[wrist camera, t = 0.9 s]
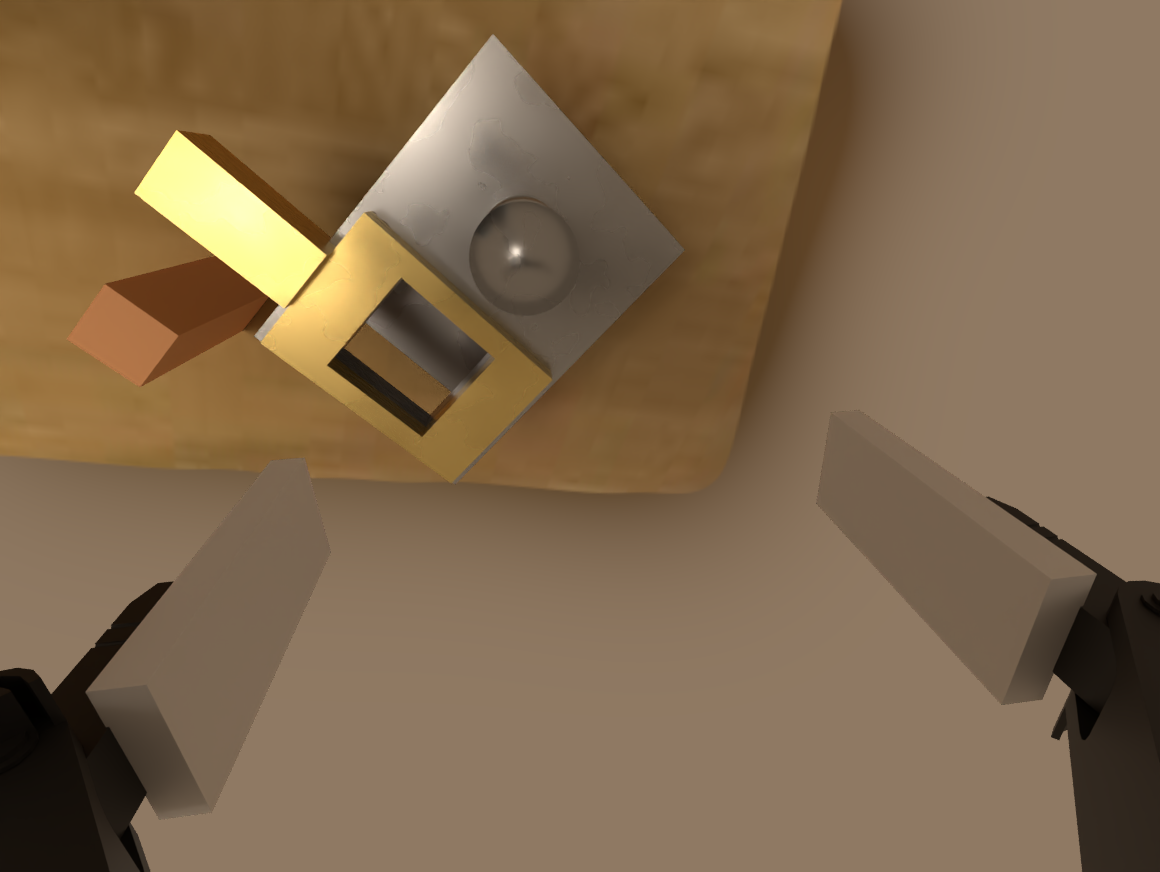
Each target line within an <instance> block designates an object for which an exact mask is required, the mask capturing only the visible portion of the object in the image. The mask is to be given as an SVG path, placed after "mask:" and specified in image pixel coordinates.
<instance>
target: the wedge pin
mask: <svg viewBox="0 0 1160 872" xmlns="http://www.w3.org/2000/svg"><path fill="white" fill-rule="evenodd" d="M268 298H269V296H267V295H266V294H265V293H263V292H262V291H261V290H259V289H258V288H257V287H256V286H254V285H253V284H252V283H250V282H249V281H248V280H246V279H245V278H244V277H243V276H241V275H240V274H239V273H237V272H236V271H235V270H234V269H232V268H231V267H230V266H228V265H227V264H226V263H224V262H223V261H222V260H221V259H219V258H218V257H217V256H213V257H209V258H206V259H202V260H198V261H194V262H190V263H186V264H182V265H178V266H174V267H170V268H166V269H162V270H158V271H154V272H150V273H146V274H142V275H138V276H134V277H130V278H126V279H122V280H118V281H114V282H110V283H106V284H104V286H103V287H102V289H101V290H100V292H99V293H98V295H97V296H96V297H95V299H94V300H93V302H92V303H91V305H90V306H89V308H88V309H87V310H86V312H85V313H84V315H83V316H82V318H81V319H80V321H79V322H78V324H77V325H76V326H75V328H74V329H73V331H72V332H71V334H70V335H69V337H68V338H67V340H69V341H70V342H72V343H73V344H75V345H76V346H78V347H79V348H81V349H82V350H84V351H85V352H87V353H88V354H90V355H92V356H93V357H95V358H96V359H98V360H99V361H101V362H102V363H104V364H105V365H107V366H108V367H110V368H111V369H113V370H115V371H116V372H118V373H119V374H121V375H122V376H124V377H125V378H127V379H128V380H130V381H131V382H133V383H134V384H136V385H138V386H139V387H141V386H143V385H145V384H147V383H148V382H150V381H152V380H154V379H156V378H157V377H159V376H161V375H163V374H165V373H166V372H168V371H170V370H172V369H174V368H176V367H177V366H179V365H181V364H183V363H185V362H186V361H188V360H190V359H192V358H194V357H196V356H197V355H199V354H201V353H203V352H205V351H206V350H208V349H210V348H212V347H214V346H215V345H217V344H219V343H221V342H223V341H225V340H226V339H228V338H230V337H232V336H234V335H235V334H237V333H239V332H241V331H243V330H244V328H245V327H246V326H247V324H248V323H249V322H250V321H251V319H252V318H253V317H254V316H255V314H256V313H257V312H258V310H259V309H260V308H261V307H262V305H263V304H264V303H265V301H266V300H267V299H268Z"/></svg>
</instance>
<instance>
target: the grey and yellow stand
mask: <svg viewBox="0 0 1160 872" xmlns="http://www.w3.org/2000/svg"><path fill="white" fill-rule="evenodd" d="M135 194H136V195H138V196H139V197H140V198H142V199H143V200H144V201H145V202H147V203H148V204H149V205H151V206H152V207H153V208H154V209H156V210H157V211H158V212H160V213H161V214H162V215H164V216H165V217H166V218H167V219H169V220H170V221H171V222H173V223H174V224H175V225H177V226H178V227H179V228H180V229H182V230H183V231H184V232H186V233H187V234H188V235H189V236H191V237H192V238H193V239H195V240H196V241H197V242H199V243H200V244H201V245H202V246H204V247H205V248H206V249H208V250H209V251H210V252H212V253H213V254H214V255H215V256H217V257H218V258H219V259H221V260H222V261H223V262H224V263H226V264H227V265H228V266H230V267H231V268H232V269H234V270H235V271H236V272H237V273H239V274H240V275H241V276H243V277H244V278H245V279H246V280H248V281H249V282H250V283H252V284H253V285H254V286H256V287H257V288H258V289H259V290H261V291H262V292H263V293H265V294H266V295H267V296H269V297H270V298H271V299H272V300H274V301H275V302H276V303H278V304H279V305H278V307H277V308H276V309H275V310H274V312H273V313H272V314H271V315H270V317H269V318H268V319H267V320H266V322H265V323H264V324H263V325H262V327H261V328H260V329H259V331H258V332H257V333H256V334H255V336H254V337H256V338H257V339H258V340H260V341H261V342H260V343H261V344H262V345H264V346H265V347H266V348H268V349H269V350H270V351H272V352H273V353H274V354H276V355H277V356H278V357H280V358H281V359H283V360H284V361H285V362H287V363H288V364H289V365H291V366H292V367H293V368H295V369H296V370H297V371H299V372H300V373H302V374H303V375H304V376H306V377H307V378H308V379H310V380H311V381H312V382H314V383H315V384H317V385H318V386H319V387H321V388H322V389H323V390H325V391H326V392H327V393H329V394H330V395H331V396H333V397H334V398H336V399H337V400H338V401H340V402H341V403H342V404H344V405H345V406H346V407H348V408H349V409H351V410H352V411H353V412H355V413H356V414H357V415H359V416H360V417H361V418H363V419H364V420H365V421H367V422H368V423H370V424H371V425H372V426H374V427H375V428H376V429H378V430H379V431H380V432H382V433H383V434H385V435H386V436H387V437H389V438H390V439H391V440H393V441H394V442H395V443H397V444H398V445H399V446H401V447H402V448H404V449H405V450H406V451H408V452H409V453H410V454H412V455H413V456H414V457H416V458H417V459H418V460H420V461H421V462H423V463H424V464H425V465H427V466H428V467H429V468H431V469H432V470H433V471H435V472H436V473H438V474H439V475H440V476H442V477H443V478H444V479H446V480H447V481H448V482H450V483H454V484H456V483H457V482H458V481H459V480H460V479H461V478H462V477H463V476H464V475H465V474H466V473H467V472H468V471H469V470H470V469H471V468H472V467H473V466H474V465H475V464H476V463H477V462H478V461H479V460H480V459H481V458H482V457H483V456H484V455H485V454H486V453H487V451H488V450H489V449H490V448H491V447H492V446H493V445H494V444H495V443H496V442H497V441H498V440H499V439H500V438H501V437H502V436H503V435H504V434H505V433H506V432H507V431H508V430H509V429H510V428H511V427H512V426H513V425H514V424H515V423H516V422H517V421H518V420H519V419H520V418H521V417H522V416H523V415H524V414H525V413H526V412H527V411H528V410H529V409H530V408H531V407H532V406H533V405H534V404H535V402H536V401H537V400H538V399H539V398H540V397H541V396H542V395H543V394H544V393H545V392H546V391H547V390H548V389H549V388H550V387H551V386H552V385H553V384H554V383H555V382H556V381H557V380H558V379H559V378H560V377H561V376H562V375H563V374H564V373H565V372H566V371H567V370H568V369H569V368H570V367H571V366H572V365H573V364H574V363H575V362H576V361H577V360H578V359H579V358H580V357H581V356H582V355H583V354H584V352H585V351H586V350H587V349H588V348H589V347H590V346H591V345H592V344H593V343H594V342H595V341H596V340H597V339H598V338H599V337H600V336H601V335H602V334H603V333H604V332H605V331H606V330H607V329H608V328H609V327H610V326H611V325H612V324H613V323H614V322H615V321H616V320H617V319H618V318H619V317H620V316H621V315H622V314H623V313H624V312H625V311H626V310H627V309H628V308H629V307H630V306H631V305H632V304H633V302H634V301H635V300H636V299H637V298H638V297H639V296H640V295H641V294H642V293H643V292H644V291H645V290H646V289H647V288H648V287H649V286H650V285H651V284H652V283H653V282H654V281H655V280H656V279H657V278H658V277H659V276H660V275H661V274H662V273H663V272H664V271H665V270H666V269H667V268H668V267H669V266H670V265H671V264H672V263H673V262H674V261H675V260H676V259H677V258H678V257H679V256H680V255H681V253H682V252H683V251H684V248H683V247H682V246H681V245H680V244H679V243H678V242H677V241H676V239H675V238H674V237H673V236H672V235H671V234H670V233H669V232H668V230H667V229H666V228H665V227H664V226H663V225H662V224H661V222H660V221H659V220H658V219H657V218H656V217H655V216H654V215H653V213H652V212H651V211H650V210H649V209H648V208H647V207H646V206H645V204H644V203H643V202H642V201H641V200H640V199H639V198H638V197H637V195H636V194H635V193H634V192H633V191H632V190H631V189H630V188H629V186H628V185H627V184H626V183H625V182H624V181H623V180H622V179H621V177H620V176H619V175H618V174H617V173H616V172H615V171H614V170H613V168H612V167H611V166H610V165H609V164H608V163H607V162H606V161H605V159H604V158H603V157H602V156H601V155H600V154H599V153H598V152H597V150H596V149H595V148H594V147H593V146H592V145H591V144H590V143H589V141H588V140H587V139H586V138H585V137H584V136H583V135H582V134H581V132H580V131H579V130H578V129H577V128H576V127H575V126H574V125H573V123H572V122H571V121H570V120H569V119H568V118H567V117H566V116H565V114H564V113H563V112H562V111H561V110H560V109H559V108H558V107H557V105H556V104H555V103H554V102H553V101H552V100H551V99H550V98H549V96H548V95H547V94H546V93H545V92H544V91H543V90H542V89H541V87H540V86H539V85H538V84H537V83H536V82H535V81H534V80H533V78H532V77H531V76H530V75H529V74H528V73H527V72H526V71H525V69H524V68H523V67H522V66H521V65H520V64H519V63H518V62H517V60H516V59H515V58H514V57H513V56H512V55H511V54H510V53H509V51H508V50H507V49H506V48H505V47H504V46H503V45H502V44H501V42H500V41H499V40H498V39H497V38H496V37H495V36H494V35H492V36H491V37H490V38H489V40H488V41H487V42H486V43H485V45H484V46H483V47H482V48H481V50H480V51H479V52H478V54H477V55H476V56H475V57H474V59H473V60H472V61H471V62H470V64H469V65H468V66H467V67H466V69H465V70H464V71H463V73H462V74H461V75H460V76H459V78H458V79H457V80H456V81H455V83H454V84H453V85H452V86H451V88H450V89H449V90H448V91H447V93H446V94H445V95H444V97H443V98H442V99H441V100H440V102H439V103H438V104H437V105H436V107H435V108H434V109H433V110H432V112H431V113H430V114H429V116H428V117H427V118H426V119H425V121H424V122H423V123H422V124H421V126H420V127H419V128H418V129H417V131H416V132H415V133H414V134H413V136H412V137H411V138H410V140H409V141H408V142H407V143H406V145H405V146H404V147H403V148H402V150H401V151H400V152H399V153H398V155H397V156H396V157H395V159H394V160H393V161H392V162H391V164H390V165H389V166H388V167H387V169H386V170H385V171H384V172H383V174H382V175H381V176H380V177H379V179H378V180H377V181H376V183H375V184H374V185H373V186H372V188H371V189H370V190H369V191H368V193H367V194H366V195H365V196H364V198H363V199H362V200H361V202H360V203H359V204H358V205H357V207H356V208H355V209H354V210H353V212H352V213H351V214H350V215H349V217H348V218H347V219H346V221H345V222H344V223H343V224H342V226H341V227H340V228H339V229H338V231H337V232H336V233H335V234H334V236H333V237H332V238H331V237H330V236H328V235H327V234H326V233H325V232H324V231H322V230H321V229H320V228H319V227H318V226H317V225H315V224H314V223H313V222H312V221H311V220H310V219H308V218H307V217H306V216H305V215H304V214H302V213H301V212H300V211H299V210H298V209H297V208H295V207H294V206H293V205H292V204H291V203H289V202H288V201H287V200H286V199H285V198H284V197H282V196H281V195H280V194H279V193H278V192H276V191H275V190H274V189H273V188H272V187H271V186H269V185H268V184H267V183H266V182H265V181H264V180H262V179H261V178H260V177H259V176H258V175H256V174H255V173H254V172H253V171H252V170H251V169H249V168H248V167H247V166H246V165H245V164H243V163H242V162H241V161H240V160H239V159H238V158H236V157H235V156H234V155H233V154H232V153H231V152H229V151H228V150H227V149H226V148H225V147H223V146H222V145H221V144H220V143H219V142H218V141H216V140H215V139H214V138H213V137H212V136H210V135H206V134H199V133H192V132H186V131H179V130H176V132H175V133H174V135H173V136H172V138H171V139H170V141H169V142H168V144H167V145H166V147H165V148H164V150H163V151H162V153H161V154H160V155H159V157H158V158H157V160H156V161H155V163H154V164H153V166H152V167H151V169H150V170H149V172H148V173H147V175H146V176H145V178H144V179H143V181H142V182H141V184H140V185H139V187H138V188H137V190H136V191H135ZM365 323H367V324H368V325H369V326H371V327H372V328H373V329H374V330H376V331H377V332H378V333H379V334H381V335H382V336H383V337H384V338H386V339H387V340H388V341H389V342H391V343H392V344H393V345H394V346H395V347H397V348H398V349H399V350H400V351H402V352H403V353H404V354H405V355H407V356H408V357H409V358H410V359H412V360H413V361H414V362H415V363H417V364H418V365H419V366H420V367H421V368H423V369H424V370H425V371H426V372H428V373H429V374H430V375H431V376H433V377H434V378H435V379H436V380H438V381H439V382H440V383H441V384H443V385H444V386H445V387H446V388H447V389H449V390H450V391H451V393H450V394H449V395H448V396H447V397H446V398H445V400H444V401H443V402H442V403H441V404H440V405H439V406H438V407H437V408H436V409H435V410H434V411H433V412H432V414H431V415H429V414H428V413H427V412H426V411H424V410H423V409H422V408H420V407H419V406H418V405H417V404H415V403H414V402H413V401H411V400H410V399H409V398H408V397H406V396H405V395H404V394H402V393H401V392H400V391H399V390H397V389H396V388H395V387H393V386H392V385H391V384H390V383H388V382H387V381H386V380H384V379H383V378H382V377H381V376H379V375H378V374H377V373H375V372H374V371H373V370H371V369H370V368H369V367H368V366H366V365H365V364H364V363H362V362H361V361H360V360H359V359H357V358H356V357H355V356H353V355H352V354H351V353H350V352H348V351H347V350H346V349H344V348H345V347H346V346H347V344H348V343H349V342H350V341H351V340H352V338H353V337H354V336H355V335H356V334H357V333H358V331H359V330H360V329H361V328H362V327H363V325H364V324H365Z"/></svg>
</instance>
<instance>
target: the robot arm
mask: <svg viewBox="0 0 1160 872" xmlns="http://www.w3.org/2000/svg"><path fill="white" fill-rule="evenodd" d="M816 504H817V505H818V506H819V507H820V508H821V509H822V510H823V511H824V512H825V513H826V515H827V516H828V517H829V518H830V519H831V520H832V521H833V522H834V523H835V524H836V525H837V526H838V528H839V529H840V530H841V531H842V532H843V533H844V534H845V535H846V536H847V537H848V538H849V539H850V541H851V542H852V543H853V544H854V545H855V546H856V547H857V548H858V549H859V550H860V551H861V553H862V554H863V555H864V556H865V557H866V558H867V559H868V560H869V561H870V562H871V563H872V565H873V566H874V567H875V568H876V569H877V570H878V571H879V572H880V573H881V574H882V575H883V577H884V578H885V579H886V580H887V581H888V582H889V583H890V584H891V585H892V586H893V587H894V588H895V589H896V591H897V592H898V593H899V594H900V595H901V596H902V597H903V598H904V599H905V600H906V602H907V603H908V604H909V605H910V606H911V607H912V608H913V609H914V610H915V611H916V612H917V613H918V615H919V616H920V617H921V618H922V619H923V620H924V621H925V622H926V623H927V624H928V625H929V627H930V628H931V629H932V630H933V631H934V632H935V633H936V634H937V635H938V636H939V637H940V638H941V640H942V641H943V642H944V643H945V644H946V645H947V646H948V647H949V648H950V649H951V650H952V651H953V653H954V654H955V655H956V656H957V657H958V658H959V659H960V660H961V661H962V662H963V663H964V665H965V666H966V667H967V668H968V669H969V670H970V671H971V672H972V673H973V674H974V675H975V676H976V678H977V679H978V680H979V681H980V682H981V683H982V684H983V685H984V686H985V687H986V688H987V690H989V692H990V693H991V694H992V695H993V696H994V697H995V698H996V699H997V700H998V701H999V702H1000V703H1001V705H1005V704H1013V703H1020V702H1027V701H1035V700H1042V699H1043V697H1044V694H1045V692H1046V690H1047V687H1048V685H1049V683H1050V681H1051V678H1052V676H1053V674H1055V675H1057V676H1058V677H1059V678H1060V679H1061V680H1062V681H1063V682H1064V683H1065V684H1066V685H1067V686H1068V687H1070V688H1071V691H1070V694H1069V696H1068V698H1067V700H1066V702H1065V705H1064V707H1063V709H1062V711H1061V713H1060V715H1059V717H1058V720H1057V722H1056V724H1055V726H1054V728H1053V732H1052V735H1051V737H1052V738H1055V739H1057V740H1059V739H1060V737H1061V735H1062V733H1063V731H1065V730H1068V739H1069V749H1070V758H1071V767H1072V777H1073V787H1074V796H1075V806H1076V815H1077V825H1078V835H1079V845H1080V854H1081V864H1082V872H1160V583H1154V582H1149V581H1128V582H1125V581H1124V580H1122V579H1121V578H1119V577H1118V576H1116V575H1115V574H1113V573H1112V572H1110V571H1109V570H1107V569H1106V568H1104V567H1103V566H1102V565H1100V564H1098V563H1097V562H1095V561H1094V560H1093V559H1091V558H1090V557H1088V556H1087V555H1085V554H1084V553H1082V552H1080V551H1079V550H1078V549H1076V548H1075V547H1073V546H1071V545H1070V544H1069V543H1067V542H1066V541H1064V540H1062V539H1060V540H1059V539H1058V538H1057V535H1055V534H1053V533H1052V532H1051V531H1049V530H1048V529H1046V528H1045V527H1040V526H1039V523H1037V522H1036V521H1034V520H1033V519H1031V518H1030V517H1028V516H1027V515H1025V514H1024V513H1022V512H1021V511H1019V510H1018V509H1016V508H1014V507H1011V506H1009V505H1007V504H1004V503H1002V502H1000V501H997V500H995V499H993V498H990V497H985V496H983V495H982V494H980V493H979V492H977V491H976V490H974V489H973V488H972V487H970V486H969V485H967V484H966V483H964V482H963V481H961V480H960V479H959V478H957V477H956V476H954V475H953V474H951V473H950V472H948V471H947V470H945V469H944V468H942V467H941V466H940V465H938V464H937V463H935V462H934V461H932V460H931V459H930V458H928V457H927V456H925V455H924V454H922V453H921V452H919V451H918V450H916V449H915V448H914V447H912V446H911V445H909V444H908V443H906V442H905V441H903V440H902V439H900V438H899V437H898V436H896V435H895V434H893V433H892V432H890V431H889V430H887V429H886V428H884V427H883V426H882V425H880V424H878V423H877V422H876V421H874V420H873V419H871V418H870V417H869V416H867V415H866V414H864V413H863V412H861V411H860V410H854V411H842V412H831V416H830V422H829V428H828V434H827V440H826V447H825V453H824V459H823V465H822V471H821V478H820V484H819V490H818V496H817V503H816ZM330 553H331V551H330V547H329V544H328V540H327V536H326V533H325V529H324V526H323V522H322V518H321V515H320V512H319V508H318V504H317V500H316V497H315V493H314V490H313V486H312V483H311V479H310V475H309V472H308V468H307V465H306V461H305V458H295V459H284V460H272V461H270V463H269V464H268V465H267V466H266V468H265V469H264V470H263V471H262V473H261V474H260V475H259V476H258V478H257V479H256V480H255V481H254V483H253V484H252V485H251V486H250V488H249V489H248V490H247V491H246V492H245V494H244V495H243V496H242V497H241V499H240V500H239V501H238V503H237V504H236V505H235V506H234V507H233V509H232V510H231V511H230V512H229V514H228V515H227V516H226V517H225V519H224V520H223V521H222V522H221V524H220V525H219V526H218V527H217V529H216V530H215V531H214V532H213V534H212V535H211V536H210V537H209V539H208V540H207V541H206V542H205V544H204V545H203V546H202V547H201V549H200V550H199V551H198V552H197V554H196V555H195V556H194V557H193V558H192V560H191V561H190V562H189V564H188V565H187V566H186V567H185V569H184V570H183V571H182V572H181V573H180V575H179V576H178V577H177V579H176V580H175V581H174V582H164V583H157V584H156V585H155V586H153V587H152V588H151V589H149V590H148V591H146V592H145V593H144V594H142V595H141V596H140V597H138V598H137V599H135V600H134V601H132V602H131V603H130V604H129V605H128V606H127V607H126V609H125V610H124V611H123V612H122V613H121V614H120V615H119V617H118V618H117V619H116V620H115V621H114V622H113V624H112V625H111V629H107V630H106V632H105V633H104V634H103V635H102V636H101V637H100V639H99V640H98V641H97V642H96V643H95V644H96V646H95V648H91V649H90V650H89V652H88V653H87V654H86V655H85V656H84V657H83V658H82V659H81V661H80V662H79V663H78V664H77V665H76V666H75V668H74V669H73V670H72V671H71V672H70V673H69V675H68V676H67V677H66V678H65V679H64V680H63V681H62V683H61V684H60V685H59V686H58V687H57V688H56V690H55V691H54V692H53V693H52V694H50V692H49V691H48V689H47V688H46V686H45V684H44V683H43V681H42V679H41V678H40V677H39V675H38V674H37V673H35V671H34V670H31V669H22V668H14V669H8V670H3V671H0V872H150V869H149V866H148V863H147V861H146V857H145V854H144V852H143V849H142V846H141V843H140V840H139V837H138V834H137V833H136V831H135V830H134V828H133V826H132V825H131V823H130V822H131V820H132V818H133V816H134V815H135V813H136V811H137V810H138V808H139V806H140V804H141V803H142V801H143V799H144V797H145V796H146V797H147V799H148V800H149V802H150V804H151V806H152V808H153V809H154V811H155V813H156V814H157V816H158V818H159V819H160V820H161V819H168V818H176V817H183V816H190V815H198V814H205V813H211V812H212V811H213V809H214V807H215V805H216V803H217V800H218V798H219V796H220V794H221V792H222V789H223V787H224V785H225V783H226V781H227V778H228V776H229V774H230V772H231V770H232V767H233V765H234V763H235V761H236V759H237V756H238V754H239V752H240V750H241V748H242V746H243V743H244V741H245V739H246V737H247V734H248V733H249V730H250V728H251V726H252V724H253V722H254V719H255V717H256V715H257V713H258V711H259V708H260V706H261V704H262V702H263V700H264V697H265V695H266V693H267V691H268V689H269V687H270V684H271V682H272V680H273V678H274V676H275V673H276V671H277V669H278V667H279V664H280V662H281V660H282V658H283V656H284V654H285V651H286V649H287V647H288V645H289V643H290V641H291V638H292V636H293V634H294V632H295V630H296V627H297V625H298V623H299V621H300V619H301V616H302V614H303V612H304V610H305V608H306V606H307V603H308V601H309V599H310V597H311V595H312V592H313V590H314V588H315V586H316V583H317V581H318V579H319V577H320V575H321V573H322V570H323V568H324V566H325V564H326V562H327V560H328V557H329V555H330Z"/></svg>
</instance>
